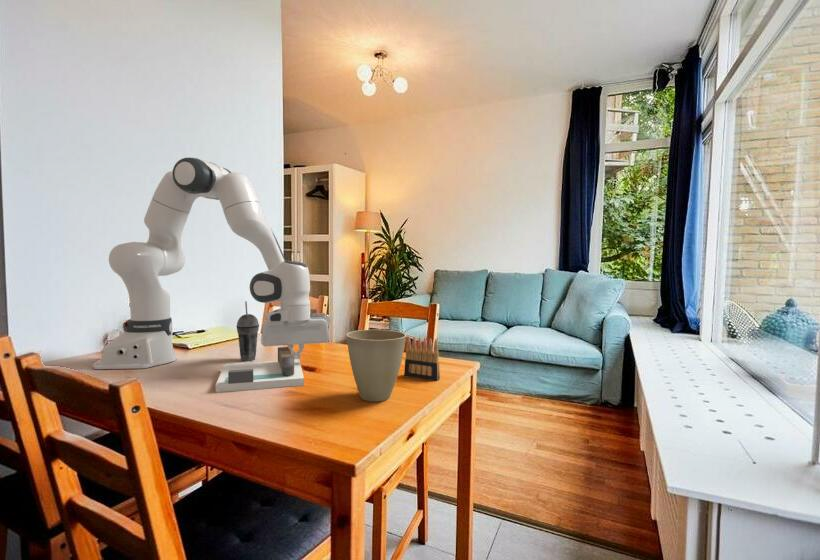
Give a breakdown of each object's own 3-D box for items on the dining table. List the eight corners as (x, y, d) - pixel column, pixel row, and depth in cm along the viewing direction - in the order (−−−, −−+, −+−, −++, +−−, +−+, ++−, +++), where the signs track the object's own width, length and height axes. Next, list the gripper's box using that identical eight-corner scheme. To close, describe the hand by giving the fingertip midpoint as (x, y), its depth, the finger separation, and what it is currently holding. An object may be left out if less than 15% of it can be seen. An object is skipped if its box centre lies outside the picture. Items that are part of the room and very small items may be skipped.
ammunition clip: (439, 379, 122) (440, 338, 121) (437, 381, 120) (437, 339, 119) (406, 374, 126) (407, 335, 126) (404, 376, 125) (404, 336, 124)
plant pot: (382, 411, 95) (383, 342, 94) (333, 399, 103) (333, 335, 102) (416, 394, 108) (417, 332, 107) (370, 384, 116) (371, 327, 115)
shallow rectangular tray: (215, 392, 107) (215, 373, 107) (225, 370, 128) (224, 354, 128) (304, 385, 114) (304, 367, 114) (299, 365, 135) (299, 350, 135)
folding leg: (295, 374, 116) (295, 358, 115) (282, 376, 114) (282, 359, 114) (289, 359, 132) (289, 345, 132) (277, 360, 131) (277, 346, 131)
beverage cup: (263, 357, 145) (262, 300, 144) (253, 363, 137) (252, 302, 136) (243, 357, 145) (242, 299, 144) (232, 362, 138) (231, 302, 137)
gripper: (328, 311, 135) (328, 354, 135) (260, 313, 128) (261, 358, 129) (331, 313, 129) (331, 358, 129) (260, 316, 122) (261, 363, 123)
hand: (296, 358), depth 129 cm, fingers closed
